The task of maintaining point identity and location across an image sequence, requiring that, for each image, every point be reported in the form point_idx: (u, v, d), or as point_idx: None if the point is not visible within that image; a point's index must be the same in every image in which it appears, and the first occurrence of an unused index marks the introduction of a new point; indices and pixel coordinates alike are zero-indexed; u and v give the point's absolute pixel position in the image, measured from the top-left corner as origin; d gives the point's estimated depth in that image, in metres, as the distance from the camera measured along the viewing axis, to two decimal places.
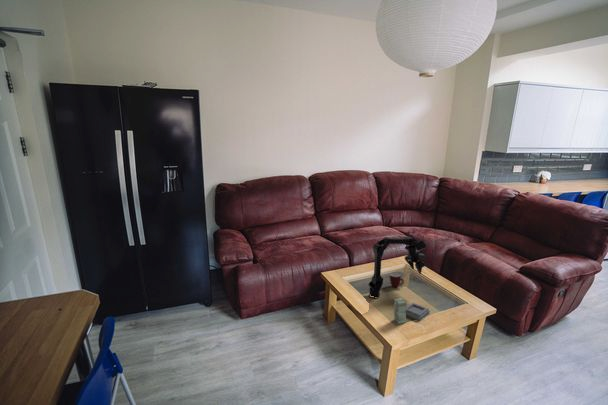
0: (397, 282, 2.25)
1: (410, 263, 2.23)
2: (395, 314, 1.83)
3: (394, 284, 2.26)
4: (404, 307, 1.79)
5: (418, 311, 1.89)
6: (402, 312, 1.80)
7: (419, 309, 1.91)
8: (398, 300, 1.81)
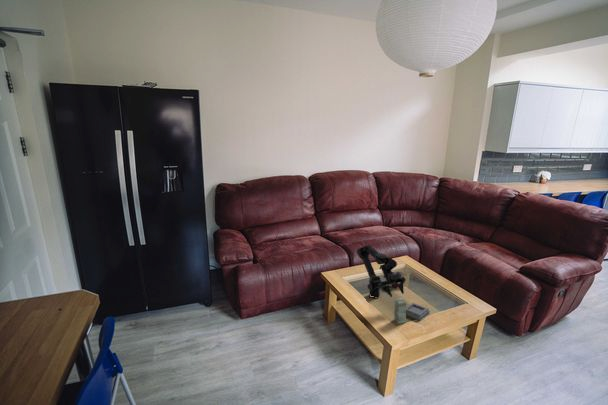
0: None
1: (399, 286, 1.94)
2: (395, 314, 1.83)
3: (394, 284, 2.26)
4: (404, 307, 1.79)
5: (418, 311, 1.89)
6: (402, 312, 1.80)
7: (419, 309, 1.91)
8: (398, 300, 1.81)
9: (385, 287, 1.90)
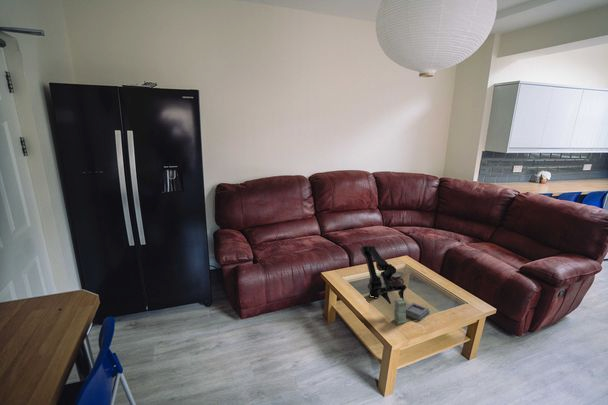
0: None
1: (399, 294, 1.90)
2: (395, 314, 1.83)
3: None
4: (404, 307, 1.79)
5: (418, 311, 1.89)
6: (402, 312, 1.80)
7: (419, 309, 1.91)
8: (398, 300, 1.81)
9: (384, 294, 1.87)
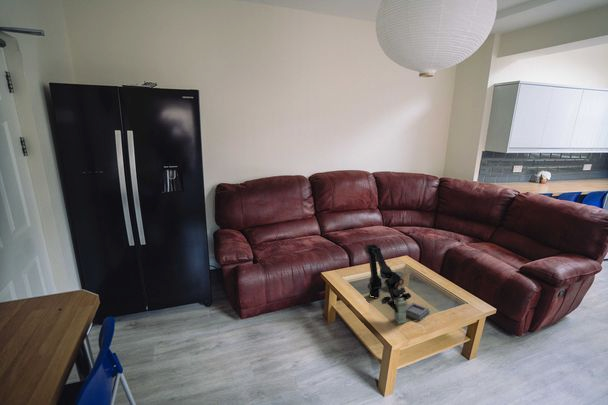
0: None
1: None
2: (395, 314, 1.83)
3: None
4: (404, 307, 1.79)
5: (418, 311, 1.89)
6: (402, 312, 1.80)
7: (419, 309, 1.91)
8: (398, 300, 1.81)
9: (390, 302, 1.83)
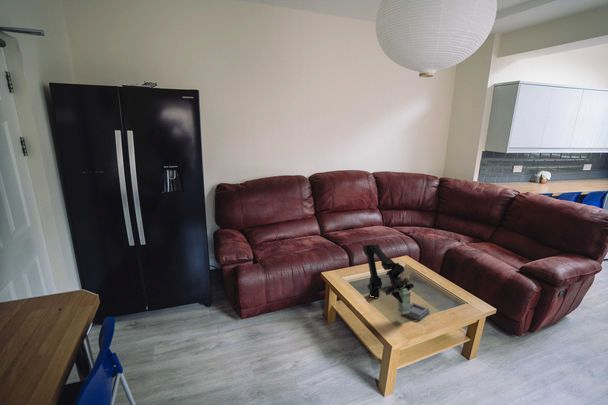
0: None
1: None
2: (399, 304, 1.83)
3: None
4: (408, 297, 1.79)
5: (418, 311, 1.89)
6: (406, 303, 1.80)
7: (419, 309, 1.91)
8: (402, 290, 1.81)
9: (395, 293, 1.82)
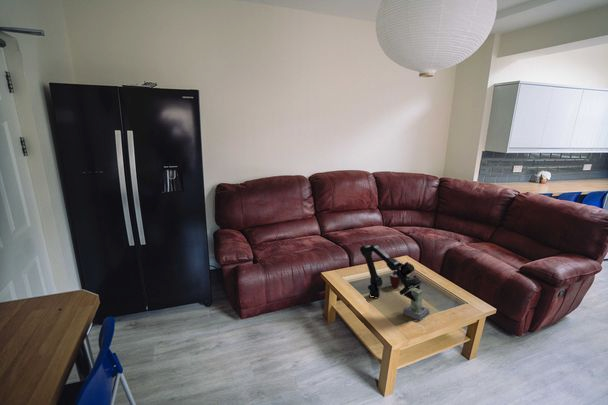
0: (397, 282, 2.25)
1: None
2: (412, 304, 1.89)
3: (394, 284, 2.26)
4: (421, 295, 1.88)
5: None
6: (420, 301, 1.87)
7: None
8: (415, 290, 1.88)
9: (407, 292, 1.86)
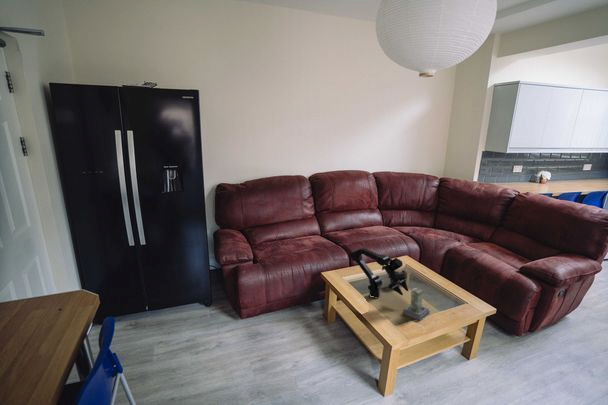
0: None
1: (402, 284, 2.02)
2: (412, 304, 1.89)
3: None
4: (421, 295, 1.88)
5: None
6: (420, 301, 1.87)
7: None
8: (415, 290, 1.88)
9: (396, 286, 1.93)
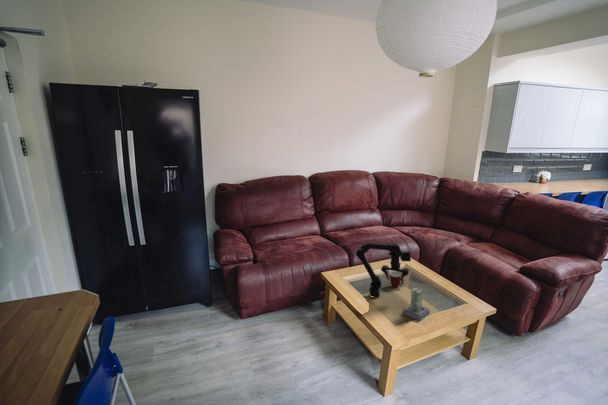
0: (397, 282, 2.25)
1: (387, 273, 2.11)
2: (412, 304, 1.89)
3: (394, 284, 2.26)
4: (421, 295, 1.88)
5: None
6: (420, 301, 1.87)
7: None
8: (415, 290, 1.88)
9: None
